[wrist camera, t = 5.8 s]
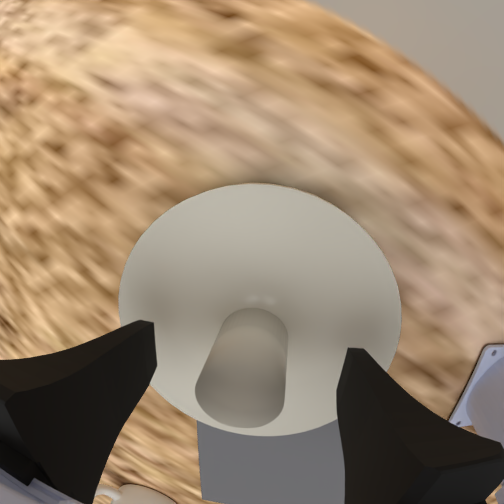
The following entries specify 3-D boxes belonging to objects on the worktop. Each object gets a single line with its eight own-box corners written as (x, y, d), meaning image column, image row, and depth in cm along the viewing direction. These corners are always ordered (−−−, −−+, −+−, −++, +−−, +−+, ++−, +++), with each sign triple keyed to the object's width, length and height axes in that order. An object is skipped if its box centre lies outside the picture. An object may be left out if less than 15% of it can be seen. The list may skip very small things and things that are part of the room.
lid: (423, 207, 12) (484, 233, 7) (354, 432, 16) (364, 500, 11) (126, 172, 13) (54, 182, 9) (138, 398, 17) (102, 455, 12)
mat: (412, 409, 20) (413, 413, 19) (353, 508, 24) (354, 511, 24) (197, 392, 21) (195, 397, 21) (203, 495, 26) (202, 499, 25)
